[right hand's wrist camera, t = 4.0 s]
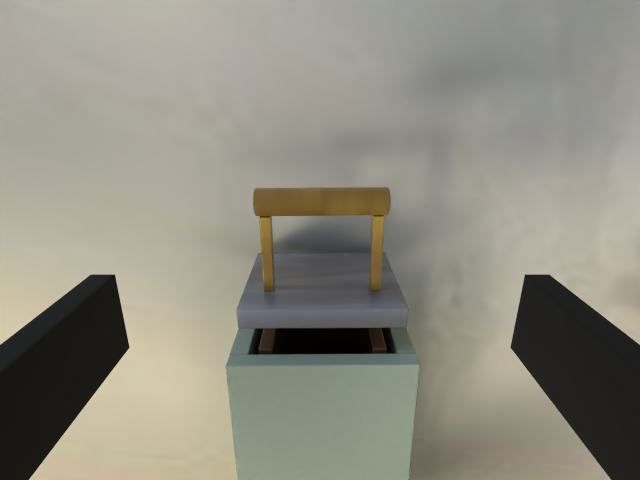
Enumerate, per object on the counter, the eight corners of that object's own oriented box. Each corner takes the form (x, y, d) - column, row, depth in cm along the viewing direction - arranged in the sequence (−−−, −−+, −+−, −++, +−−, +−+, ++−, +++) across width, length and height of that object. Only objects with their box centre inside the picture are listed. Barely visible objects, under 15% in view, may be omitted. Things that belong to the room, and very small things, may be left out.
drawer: (252, 169, 26) (226, 199, 19) (389, 169, 26) (417, 197, 19) (271, 463, 35) (259, 563, 28) (373, 463, 35) (388, 562, 28)
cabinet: (254, 281, 30) (225, 366, 21) (388, 281, 30) (420, 364, 21) (268, 486, 37) (252, 617, 28) (376, 485, 37) (395, 616, 28)
